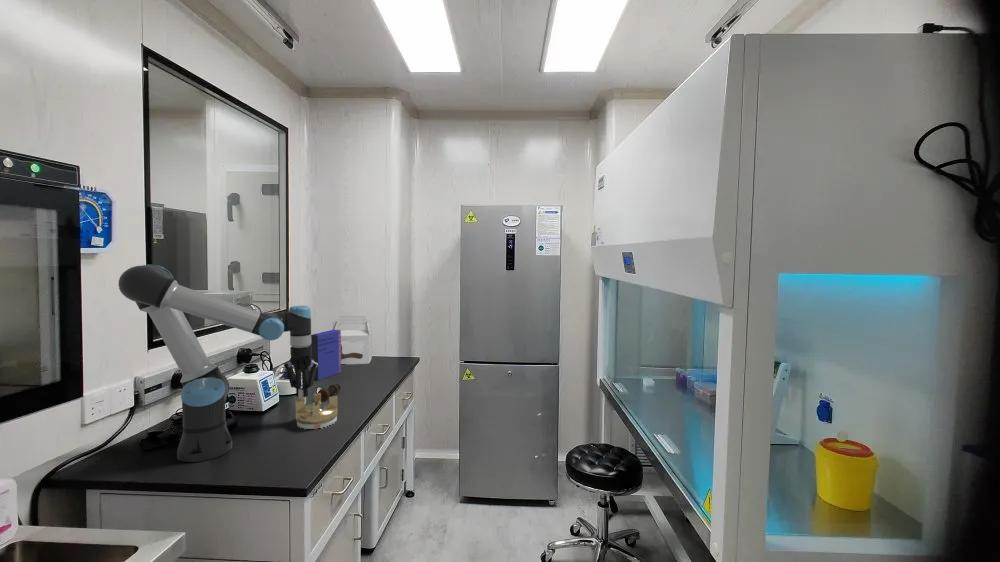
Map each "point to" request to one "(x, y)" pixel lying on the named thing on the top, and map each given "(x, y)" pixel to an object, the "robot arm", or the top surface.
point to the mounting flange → (318, 425)
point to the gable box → (356, 339)
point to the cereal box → (326, 353)
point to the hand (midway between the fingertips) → (302, 404)
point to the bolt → (329, 391)
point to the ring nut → (316, 410)
